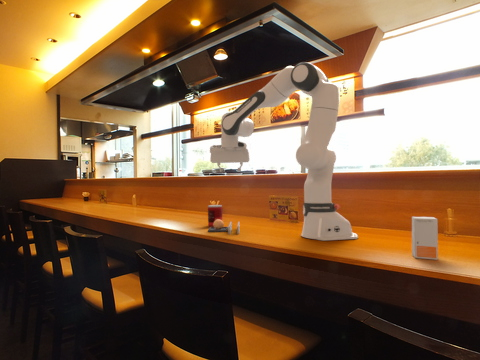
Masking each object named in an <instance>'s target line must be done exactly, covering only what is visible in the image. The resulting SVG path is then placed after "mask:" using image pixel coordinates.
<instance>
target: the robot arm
mask: <svg viewBox="0 0 480 360" xmlns="http://www.w3.org/2000/svg"><path fill="white" fill-rule="evenodd" d="M329 81H330V80H329V78H328V76H327V74H325V73H324V72H323V71H322V70H321V69H320V68H319V67H318V66H316V65H314V64H312V63H310V62H307V61H302V62H299V63H297V64H295V65H294V66H292V65H288V66H286V67H284V68H283V69H281V71H279V72H278V73H277V74H276V75H275V76H274V77H273V78H272V79H270V81H269V82H268V83H267V84H266V85H264V86H263V87H262V88H261V89H259V90H257V91H256V92H254V93H252V94H251V95H250V96H249V97H248V98H247V99H245V101H243V102H242V103H241V104H240V105H239V106H238V107H237V108H236V109H235V110H233V111H231V112H230V111H229V112H226V113H224V114H223V115H222V116H221V121H220V131H221V136H220V137H221V138H220V142H221V144H213V145H211V146H210V147H209V153H210V162H211V163H212V164H216V165H217V166H218V169H219V172H220V173H221V172H223V170H224V169H223V168H222V167H221V164H228V163H233V164H234V163H239V165H240V166H239V167H237V171H238V172H241V169H242V167H243V164H244V163H249V162H250V152H249V150H248V148H247V142H243V141H240V140H239V137H243V138H249V137H250V136H252V134H253V133H254V131H255V123H254V121H253V120H252V119H250V118H249V116H250V115H252V114H253V113H255V111H257V110H260V109H263V108H274V107H275V108H276V107H279V106H281V105H282V104H283V103H284V102H285V101H286V100H287V99H289V97H290V96H291V95H292V94H293V93H295V92H296V91H298V90H300V92H302V93H303V94H305V95H308V96H310V97H311V107H310V112H309V119H308V123H307V124H308V125H307V128H306V131H305V135H304V137H303V139H302V142H301V144H300V145H299V147H298V148H297V149H296V152H295V159H296V162H297V163H298V165H300V166H301V167H302V168H304V169H307V176H306V179H305V181H304V185H303V195H304V196H303V201H304V202H303V205H302V209H303V210H302V214H303V225H302V230H301V231H302V232H301V234H300V236H301V237H303V238H306V239H312V240H318V241H338V240H339V241H340V240H357V239H358V238H359V235H358V234H357V233H355V232H353V229H352V225H351V223H350V221H349V220H348V219H346V218H345V217H344V216H343V215H341V214H340V213H339V212H337V210H339V209H340V208H341V205H340V204H338V203H333V202H332V180H333V174H334V168H335V163H336V161H337V154H336V152H335V151H334V150H333V148H331V147H330V146H329V145H330V142H331V139H332V136H333V135H334V132H335V131H336V128H337V120H338V116H339V110H340V109H339V108H340V87H339V86H338V85H337V84H335V83H334V82H329Z"/></svg>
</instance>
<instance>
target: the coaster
mask: <svg viewBox="0 0 480 360" xmlns="http://www.w3.org/2000/svg"><path fill="white" fill-rule="evenodd" d="M228 231H229V226H223V228H222V229H220V230H217V229H215V228H214V227H208V229H207V233H225V232H226V233H228Z"/></svg>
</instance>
